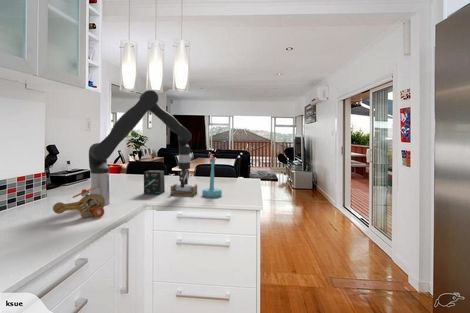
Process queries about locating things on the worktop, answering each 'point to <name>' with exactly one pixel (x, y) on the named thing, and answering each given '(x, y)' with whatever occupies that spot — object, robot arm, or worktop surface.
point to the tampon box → (154, 182)
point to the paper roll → (186, 188)
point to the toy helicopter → (84, 205)
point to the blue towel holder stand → (212, 185)
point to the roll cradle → (179, 193)
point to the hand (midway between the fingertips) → (184, 186)
